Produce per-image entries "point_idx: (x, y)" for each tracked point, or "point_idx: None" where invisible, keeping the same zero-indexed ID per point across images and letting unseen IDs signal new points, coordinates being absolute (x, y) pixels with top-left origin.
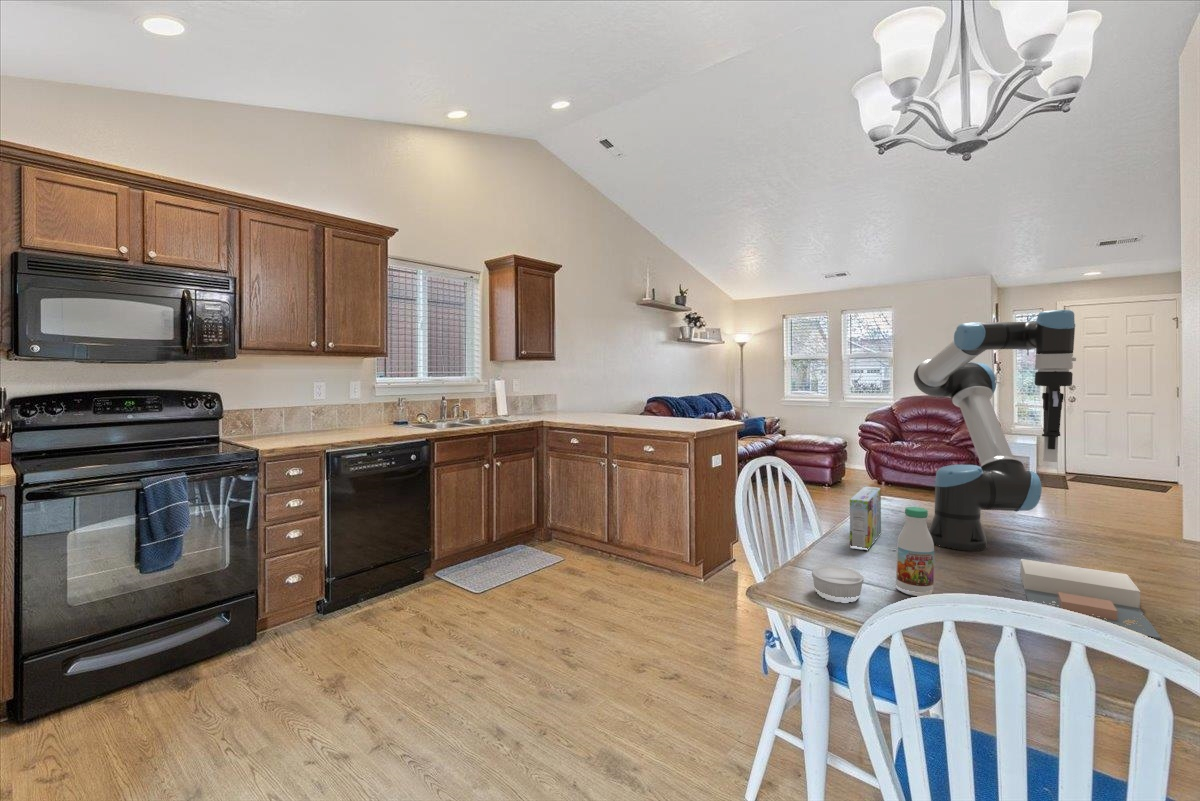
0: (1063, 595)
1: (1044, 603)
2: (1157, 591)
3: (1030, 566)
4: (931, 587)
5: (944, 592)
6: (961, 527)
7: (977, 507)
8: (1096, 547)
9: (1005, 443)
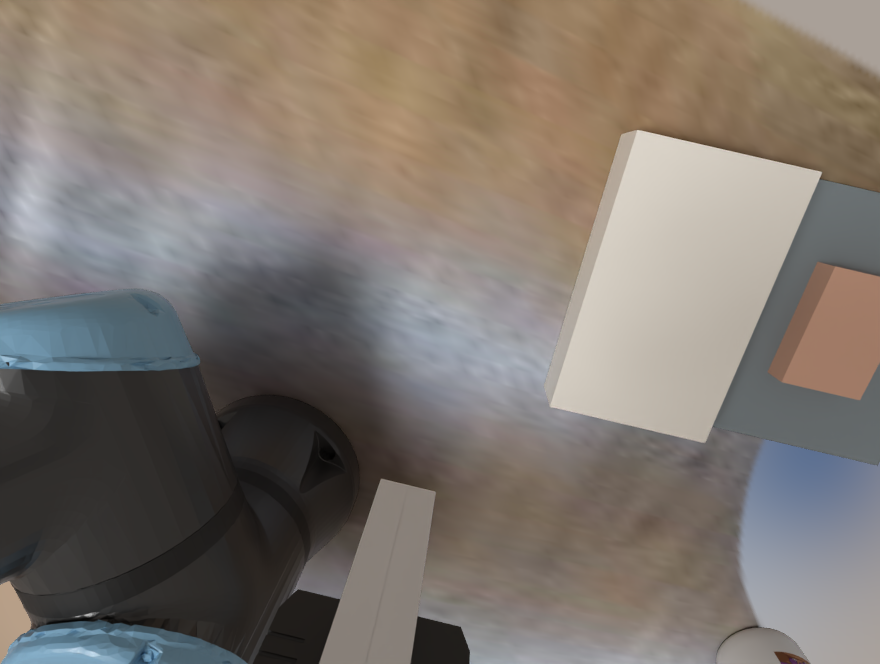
0: (809, 378)
1: (796, 411)
2: (599, 28)
3: (627, 406)
4: (801, 654)
5: (745, 599)
6: (324, 520)
7: (263, 519)
8: (107, 9)
9: None
